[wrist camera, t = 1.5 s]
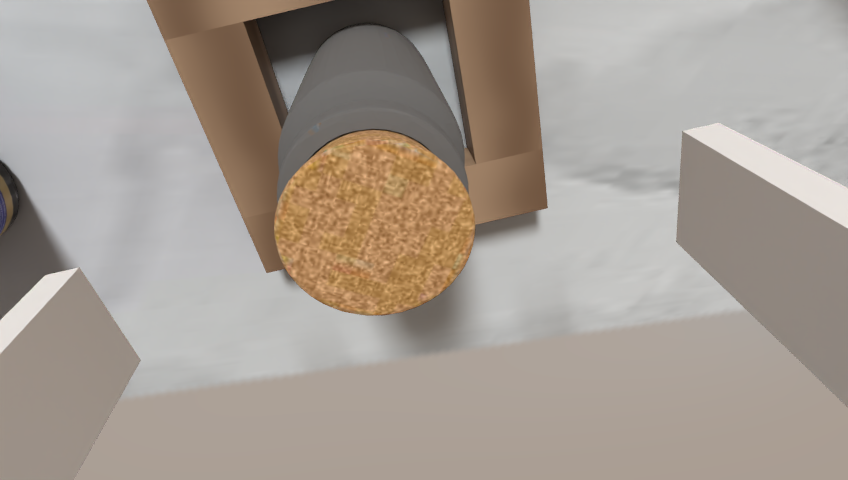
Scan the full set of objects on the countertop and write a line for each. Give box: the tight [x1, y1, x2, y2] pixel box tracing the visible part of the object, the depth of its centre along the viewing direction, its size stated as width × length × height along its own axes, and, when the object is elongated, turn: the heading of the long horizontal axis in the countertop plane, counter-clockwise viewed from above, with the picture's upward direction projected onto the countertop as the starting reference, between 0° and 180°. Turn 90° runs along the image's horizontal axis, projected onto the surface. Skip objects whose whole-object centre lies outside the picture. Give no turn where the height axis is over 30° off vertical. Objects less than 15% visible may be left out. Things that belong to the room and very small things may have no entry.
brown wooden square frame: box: [147, 0, 548, 273], centre depth 24 cm, size 15×15×2 cm
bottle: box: [274, 23, 475, 315], centre depth 18 cm, size 6×6×15 cm
